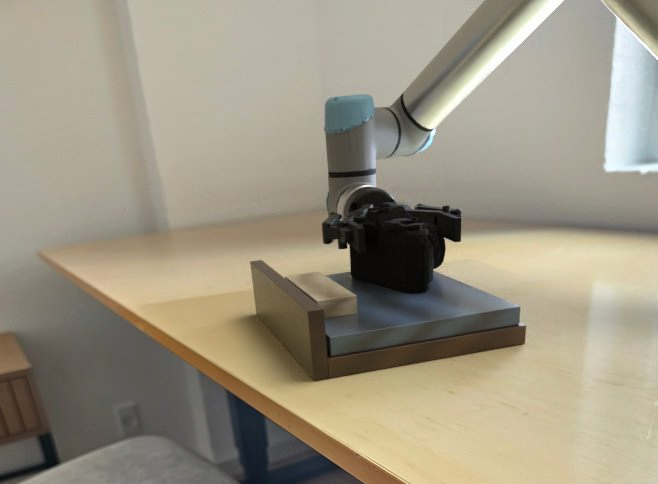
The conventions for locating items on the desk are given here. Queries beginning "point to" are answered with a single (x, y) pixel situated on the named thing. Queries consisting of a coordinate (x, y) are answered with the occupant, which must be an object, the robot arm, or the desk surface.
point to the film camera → (397, 250)
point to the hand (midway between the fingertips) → (410, 235)
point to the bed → (312, 333)
